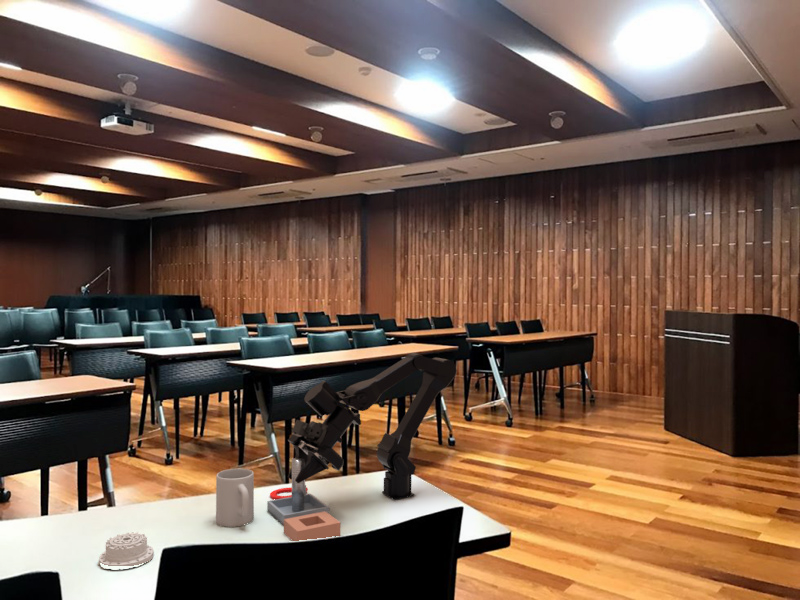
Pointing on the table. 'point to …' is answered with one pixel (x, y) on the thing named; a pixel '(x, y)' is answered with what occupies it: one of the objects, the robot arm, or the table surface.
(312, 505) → the tray
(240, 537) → the table surface
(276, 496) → the tow hook
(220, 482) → the mug
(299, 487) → the pin
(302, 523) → the block
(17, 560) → the table surface
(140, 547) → the mechanical component
